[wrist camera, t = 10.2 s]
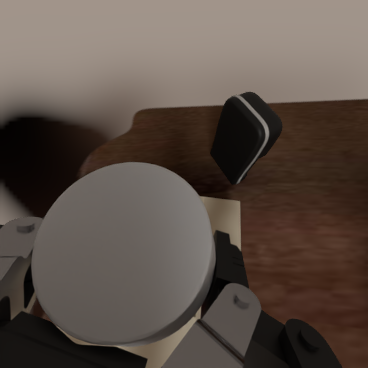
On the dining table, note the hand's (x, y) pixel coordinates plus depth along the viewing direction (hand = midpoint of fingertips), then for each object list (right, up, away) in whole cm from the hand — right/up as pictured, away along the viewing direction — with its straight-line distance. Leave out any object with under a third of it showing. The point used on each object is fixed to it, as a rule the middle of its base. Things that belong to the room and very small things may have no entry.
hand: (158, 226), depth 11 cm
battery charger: (+9, +5, +19) cm, 22 cm away
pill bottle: (-1, -4, +4) cm, 6 cm away
